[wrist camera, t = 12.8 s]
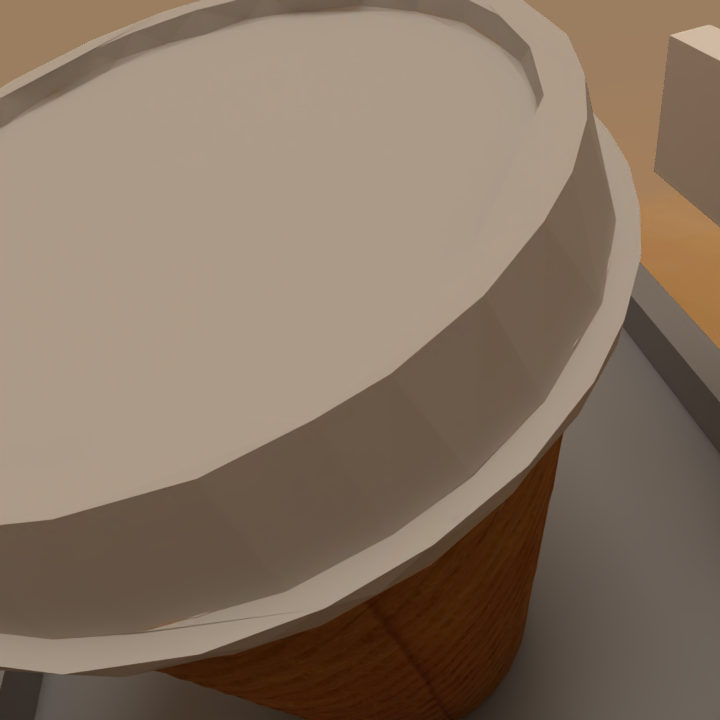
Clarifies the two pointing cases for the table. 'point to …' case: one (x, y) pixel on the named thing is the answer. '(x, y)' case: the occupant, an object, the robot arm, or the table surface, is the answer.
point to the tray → (562, 561)
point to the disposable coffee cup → (299, 345)
